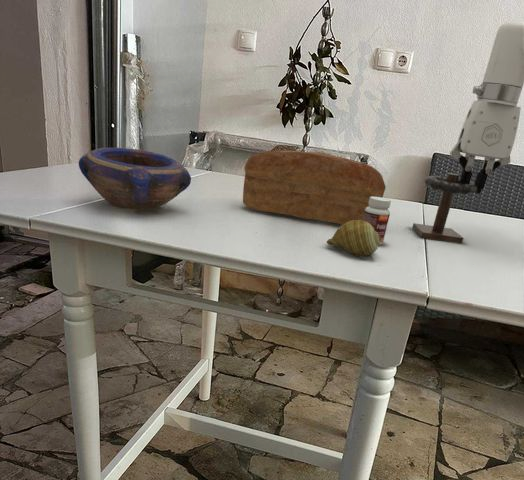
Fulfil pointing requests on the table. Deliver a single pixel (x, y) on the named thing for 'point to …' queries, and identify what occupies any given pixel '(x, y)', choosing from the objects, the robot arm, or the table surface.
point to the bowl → (134, 177)
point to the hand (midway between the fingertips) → (469, 190)
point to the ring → (449, 185)
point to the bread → (310, 185)
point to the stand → (441, 219)
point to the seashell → (356, 238)
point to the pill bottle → (378, 215)
